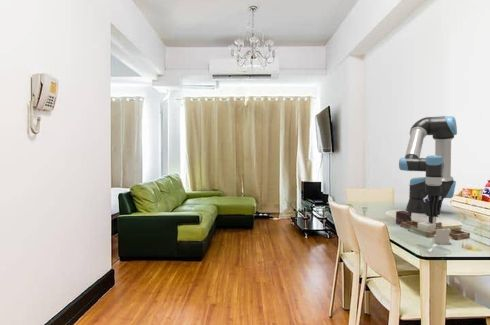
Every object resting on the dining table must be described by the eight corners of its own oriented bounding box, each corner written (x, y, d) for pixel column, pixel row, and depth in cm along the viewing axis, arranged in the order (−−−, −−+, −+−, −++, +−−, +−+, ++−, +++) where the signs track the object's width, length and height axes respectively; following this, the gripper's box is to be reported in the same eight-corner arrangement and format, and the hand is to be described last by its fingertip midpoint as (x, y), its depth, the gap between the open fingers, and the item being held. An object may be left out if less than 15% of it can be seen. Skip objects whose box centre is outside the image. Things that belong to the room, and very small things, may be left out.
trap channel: (427, 223, 185) (427, 219, 185) (476, 236, 159) (476, 232, 158) (396, 227, 178) (396, 222, 178) (442, 242, 151) (442, 237, 151)
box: (404, 225, 180) (405, 213, 180) (395, 223, 186) (395, 211, 185) (411, 224, 183) (411, 212, 183) (402, 222, 188) (402, 210, 188)
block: (425, 230, 170) (425, 221, 170) (435, 233, 165) (435, 224, 164) (417, 231, 168) (417, 222, 168) (427, 235, 163) (427, 225, 162)
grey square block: (433, 242, 153) (433, 227, 152) (449, 243, 151) (450, 228, 150) (435, 244, 150) (435, 229, 149) (451, 245, 147) (452, 230, 147)
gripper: (436, 183, 172) (434, 225, 173) (417, 184, 167) (416, 227, 169) (449, 184, 164) (447, 229, 166) (430, 186, 160) (429, 231, 162)
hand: (432, 228), depth 167 cm, fingers closed
